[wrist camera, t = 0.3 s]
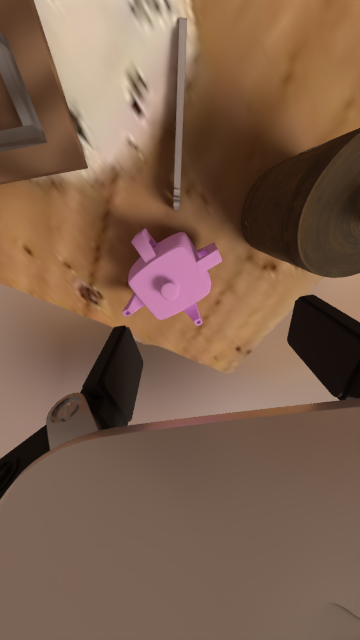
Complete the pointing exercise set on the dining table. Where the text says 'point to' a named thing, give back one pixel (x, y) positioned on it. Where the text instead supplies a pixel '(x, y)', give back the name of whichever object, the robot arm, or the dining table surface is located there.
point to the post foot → (32, 101)
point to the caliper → (180, 108)
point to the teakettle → (170, 275)
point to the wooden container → (310, 209)
